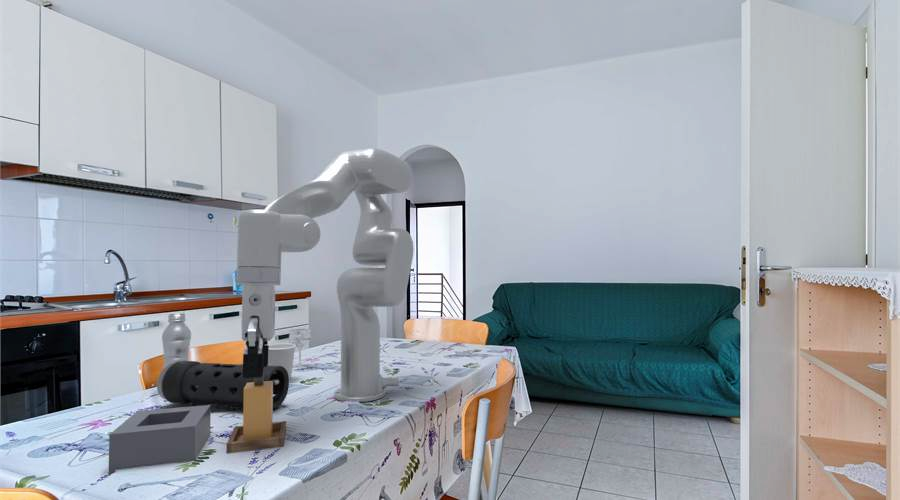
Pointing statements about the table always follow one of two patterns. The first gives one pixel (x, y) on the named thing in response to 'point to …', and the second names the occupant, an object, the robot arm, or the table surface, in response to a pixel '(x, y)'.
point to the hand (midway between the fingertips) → (256, 371)
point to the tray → (239, 445)
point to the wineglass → (300, 340)
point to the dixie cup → (281, 357)
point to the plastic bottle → (176, 340)
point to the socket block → (159, 437)
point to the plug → (258, 409)
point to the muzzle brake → (215, 384)
